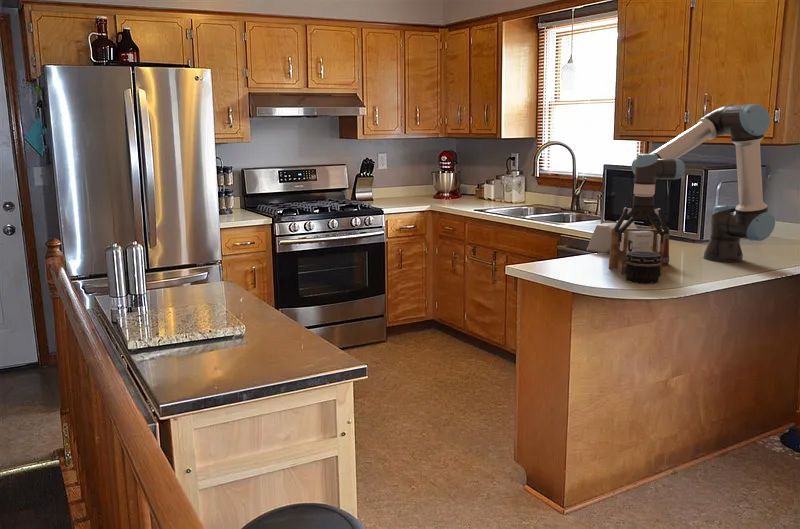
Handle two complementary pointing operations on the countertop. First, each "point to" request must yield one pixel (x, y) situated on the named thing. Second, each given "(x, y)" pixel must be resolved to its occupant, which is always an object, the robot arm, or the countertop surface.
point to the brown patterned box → (618, 256)
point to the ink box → (640, 241)
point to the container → (643, 267)
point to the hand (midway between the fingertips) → (639, 251)
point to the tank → (603, 237)
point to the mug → (666, 246)
